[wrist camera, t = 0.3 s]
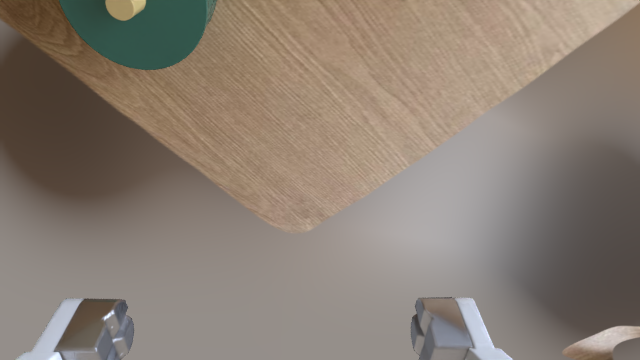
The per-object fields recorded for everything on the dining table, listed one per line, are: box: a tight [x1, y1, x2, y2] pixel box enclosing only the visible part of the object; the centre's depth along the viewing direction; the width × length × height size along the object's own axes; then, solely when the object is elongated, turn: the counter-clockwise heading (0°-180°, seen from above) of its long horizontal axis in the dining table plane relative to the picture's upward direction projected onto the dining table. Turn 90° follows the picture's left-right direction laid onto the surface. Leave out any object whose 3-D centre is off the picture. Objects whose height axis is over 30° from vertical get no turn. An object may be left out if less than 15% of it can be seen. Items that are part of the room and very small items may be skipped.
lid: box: [59, 0, 208, 70], centre depth 41 cm, size 15×15×5 cm
